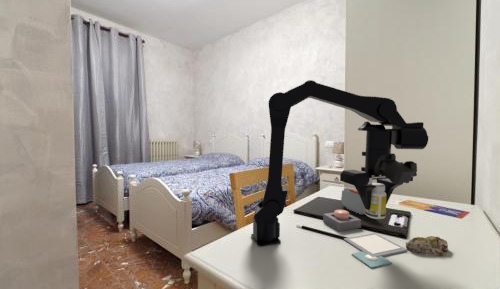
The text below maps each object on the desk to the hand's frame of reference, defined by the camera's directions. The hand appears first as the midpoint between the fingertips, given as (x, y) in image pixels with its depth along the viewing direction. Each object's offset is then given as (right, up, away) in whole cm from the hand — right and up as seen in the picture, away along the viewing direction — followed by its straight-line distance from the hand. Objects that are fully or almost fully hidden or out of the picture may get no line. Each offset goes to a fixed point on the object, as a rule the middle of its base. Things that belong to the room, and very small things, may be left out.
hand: (375, 208), depth 63 cm
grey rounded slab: (+6, -8, +26) cm, 28 cm away
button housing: (-3, -9, +14) cm, 17 cm away
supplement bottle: (0, -2, 0) cm, 2 cm away
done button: (-3, -7, +14) cm, 16 cm away
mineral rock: (+13, -11, -1) cm, 16 cm away
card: (-4, -10, -6) cm, 13 cm away
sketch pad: (0, -10, +1) cm, 10 cm away
